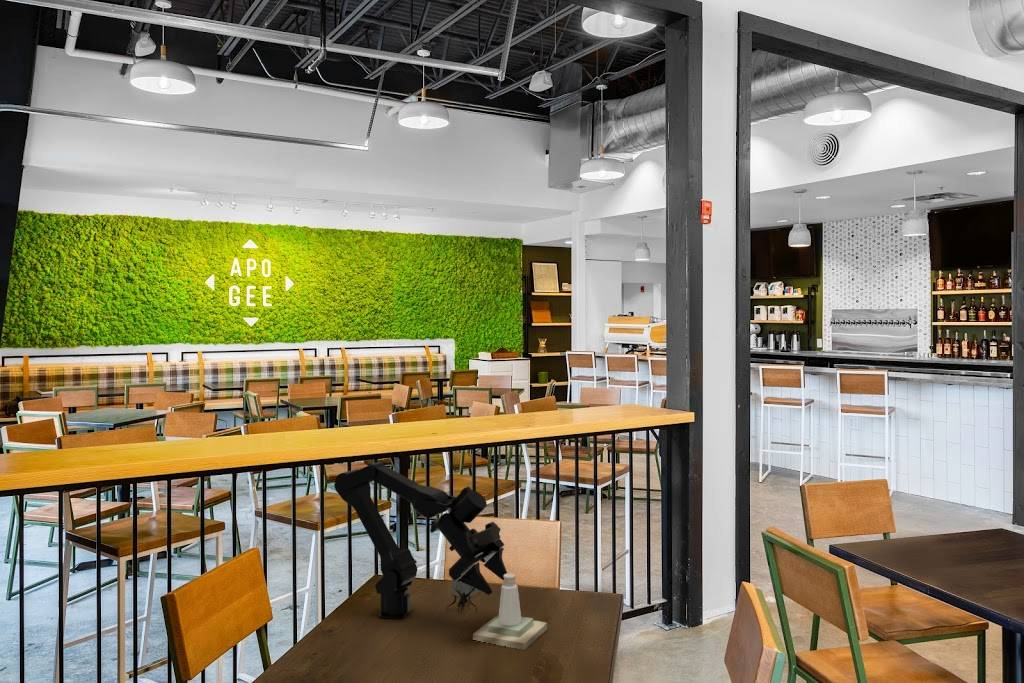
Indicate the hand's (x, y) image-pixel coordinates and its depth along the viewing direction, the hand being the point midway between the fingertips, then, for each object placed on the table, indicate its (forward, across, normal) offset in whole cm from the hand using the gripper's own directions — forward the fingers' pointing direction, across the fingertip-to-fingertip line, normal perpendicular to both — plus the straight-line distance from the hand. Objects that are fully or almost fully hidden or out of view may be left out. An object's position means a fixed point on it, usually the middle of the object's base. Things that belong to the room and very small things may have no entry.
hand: (499, 587), depth 176 cm
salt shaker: (+7, 0, +4) cm, 8 cm away
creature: (-3, +10, +19) cm, 21 cm away
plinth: (+10, 0, +6) cm, 11 cm away
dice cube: (-6, +20, +22) cm, 30 cm away
